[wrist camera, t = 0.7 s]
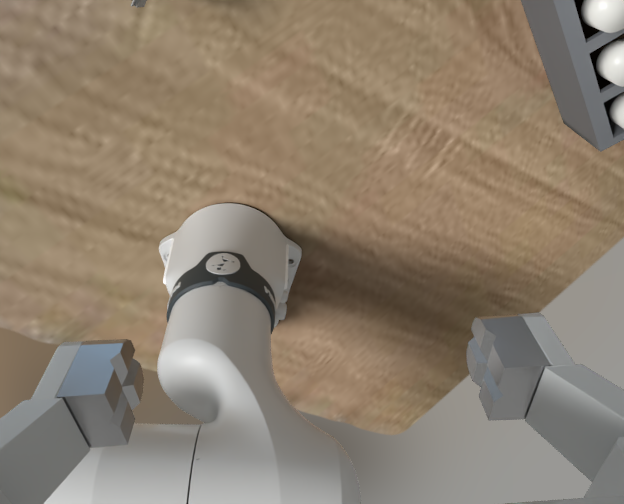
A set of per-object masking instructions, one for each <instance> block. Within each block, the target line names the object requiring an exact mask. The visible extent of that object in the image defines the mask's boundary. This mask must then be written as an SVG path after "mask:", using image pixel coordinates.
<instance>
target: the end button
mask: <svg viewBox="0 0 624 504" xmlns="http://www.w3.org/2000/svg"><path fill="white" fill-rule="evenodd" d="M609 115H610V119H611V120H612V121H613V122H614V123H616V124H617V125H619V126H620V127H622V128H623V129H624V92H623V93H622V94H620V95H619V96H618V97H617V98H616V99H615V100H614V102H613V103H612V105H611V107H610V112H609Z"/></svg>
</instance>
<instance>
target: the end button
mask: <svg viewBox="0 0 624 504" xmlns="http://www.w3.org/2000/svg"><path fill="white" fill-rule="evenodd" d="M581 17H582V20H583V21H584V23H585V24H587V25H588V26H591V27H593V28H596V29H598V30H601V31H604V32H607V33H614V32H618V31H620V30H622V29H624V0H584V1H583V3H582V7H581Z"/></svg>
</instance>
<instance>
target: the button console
mask: <svg viewBox="0 0 624 504" xmlns="http://www.w3.org/2000/svg"><path fill="white" fill-rule="evenodd" d="M521 2H522V5H523V8H524V11H525V13H526V16H527V19H528V22H529V25H530V28H531V31H532V34H533V36H534V39H535V42H536V45H537V48H538V51H539V54H540V56H541V59H542V62H543V65H544V68H545V71H546V74H547V76H548V79H549V82H550V85H551V88H552V91H553V94H554V96H555V99H556V102H557V105H558V108H559V111H560V114H561V117H562V119H563V122H564V124H565V125H567V126H568V127H569V128H571V129H572V130H573V131H574V132H576V133H577V134H578V135H580V136H581V137H582V138H584V139H585V140H586V141H587V142H589V143H590V144H591V145H593V146H594V147H595V148H596V149H598V150H599V151H600V152H601V151H603V150H605V149H607V148H609V147H611V146H612V145H614V144H616V143H618V142H620V141H622V140H624V129H623V128H622V127H620V126H619V125H617V124H616V123H614V122H613V121H612V120H611V119H610V115H609V112H610V107H611V105H612V103H613V102H614V100H615V99H616V98H617V97H618V96H619V95H620V94H622V93H623V92H624V87H622V86H618V85H616V84H614V83H612V84H610V85H608V86H606V87H604V88H603V89H601V90H600V89H599V86H598V82H597V79H596V75H595V72H594V68H593V65H592V61H591V58H590V53H591V52H593V51H595V50H596V49H598V48H600V47H601V46H603V45H605V44H607V43H608V42H610V41H612V40H613V39H615V38H617V37H618V36H620V35H622V34H623V33H624V29H622V30H620V31H618V32H614V33H607V32H604V31H600V32H598V33H596V34H595V35H593V36H591V37H590V38H588V39H586V40H585V37H584V34H583V30H582V27H581V23H580V20H579V16H578V13H577V9H576V6H575V2H574V0H521Z"/></svg>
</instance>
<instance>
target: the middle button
mask: <svg viewBox="0 0 624 504" xmlns="http://www.w3.org/2000/svg"><path fill="white" fill-rule="evenodd" d="M596 70H597V72H598V74H599V75H600V76H601V77H603V78H605V79H607V80H608V81H610V82H612V83H614V84H616V85H618V86H622V87H624V38H621V39H617V40H614V41H612V42H611V43H609V44H608V45H607V46H606V47H605V48H604V49H603V50H602V51H601V52H600V54H599V56H598V58H597V62H596Z"/></svg>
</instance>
